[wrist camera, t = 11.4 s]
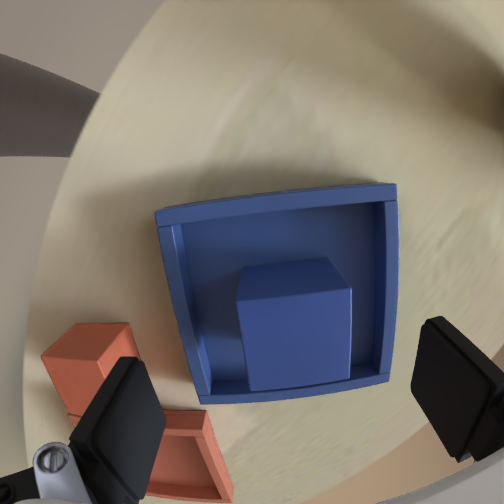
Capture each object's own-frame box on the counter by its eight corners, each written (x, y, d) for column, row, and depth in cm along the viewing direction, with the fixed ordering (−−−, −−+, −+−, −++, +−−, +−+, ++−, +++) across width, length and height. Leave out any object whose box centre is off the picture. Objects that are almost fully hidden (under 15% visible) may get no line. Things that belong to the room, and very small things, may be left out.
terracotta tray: (77, 400, 19) (66, 414, 17) (206, 410, 19) (202, 429, 17) (126, 477, 22) (120, 490, 20) (233, 487, 21) (232, 503, 20)
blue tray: (166, 206, 15) (153, 211, 13) (381, 182, 15) (397, 183, 13) (205, 385, 18) (200, 405, 16) (379, 364, 17) (389, 381, 16)
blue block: (241, 266, 16) (234, 301, 11) (327, 256, 15) (352, 287, 11) (252, 341, 17) (249, 391, 12) (330, 332, 16) (350, 379, 12)
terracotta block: (75, 323, 17) (39, 355, 13) (129, 322, 17) (97, 360, 13) (96, 376, 18) (69, 413, 14) (148, 379, 18) (126, 422, 14)
